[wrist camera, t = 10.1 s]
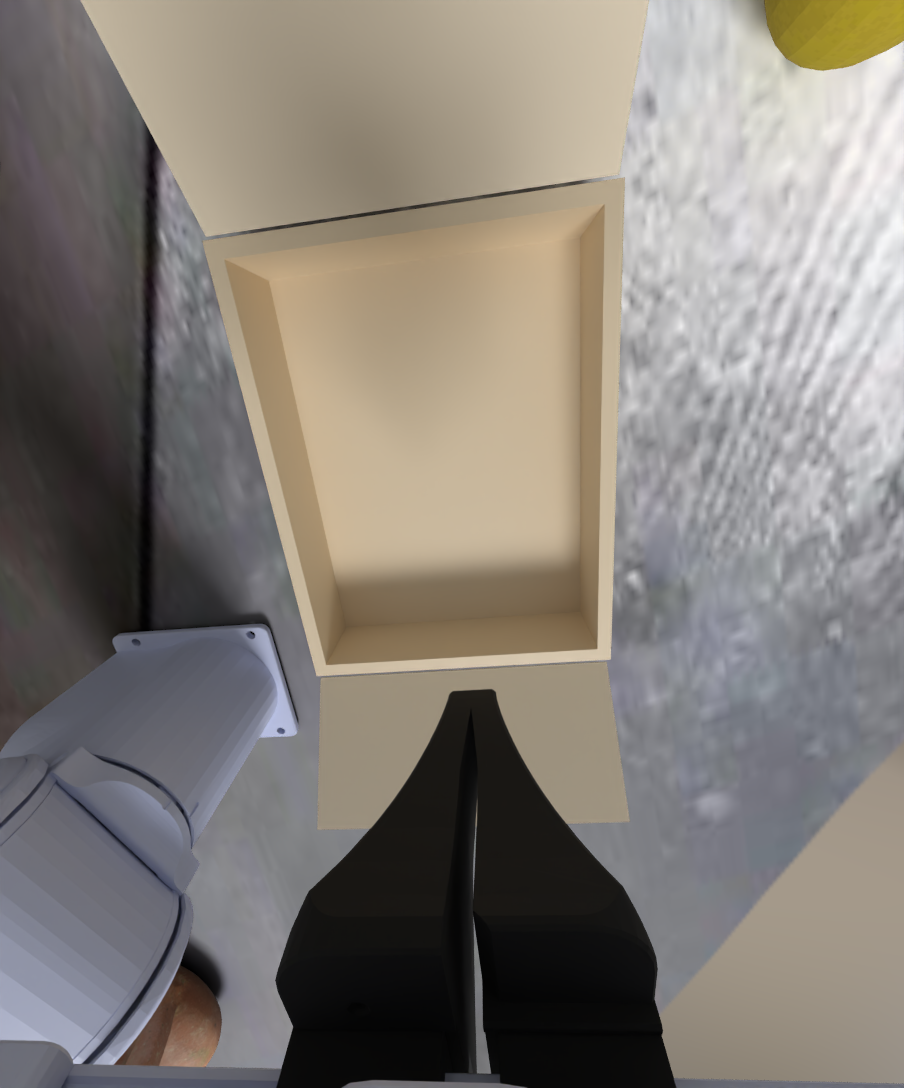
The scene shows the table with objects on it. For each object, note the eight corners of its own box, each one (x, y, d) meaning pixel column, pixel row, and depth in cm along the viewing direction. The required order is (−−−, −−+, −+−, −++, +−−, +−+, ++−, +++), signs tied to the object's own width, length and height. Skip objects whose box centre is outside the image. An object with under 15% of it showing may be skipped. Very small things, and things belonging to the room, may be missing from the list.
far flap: (320, 678, 21) (324, 677, 21) (317, 829, 19) (321, 825, 19) (606, 661, 20) (603, 661, 20) (629, 822, 18) (626, 817, 18)
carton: (340, 631, 24) (316, 676, 21) (258, 269, 18) (202, 240, 14) (588, 615, 23) (610, 659, 20) (592, 222, 17) (624, 177, 13)
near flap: (18, -117, 9) (30, -118, 9) (206, 236, 14) (210, 229, 15) (696, -277, 8) (688, -272, 8) (618, 174, 13) (615, 168, 13)
